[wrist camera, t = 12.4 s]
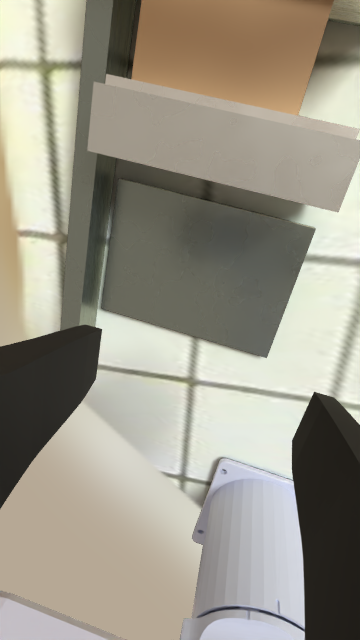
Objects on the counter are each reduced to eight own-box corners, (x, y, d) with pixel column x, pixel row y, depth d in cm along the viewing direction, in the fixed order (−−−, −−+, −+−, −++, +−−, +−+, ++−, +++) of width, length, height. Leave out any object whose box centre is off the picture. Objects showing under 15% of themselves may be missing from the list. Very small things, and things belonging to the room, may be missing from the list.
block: (289, 131, 17) (297, 118, 13) (157, 102, 18) (130, 82, 14) (319, 33, 15) (337, -13, 12) (172, 5, 16) (147, -45, 13)
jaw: (321, 205, 17) (338, 212, 13) (121, 156, 18) (87, 150, 14) (346, 141, 16) (371, 129, 12) (130, 93, 17) (94, 69, 13)
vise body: (256, 379, 22) (255, 429, 18) (78, 324, 24) (36, 358, 19) (416, -46, 14) (493, -156, 9) (122, -93, 15) (63, -208, 11)
